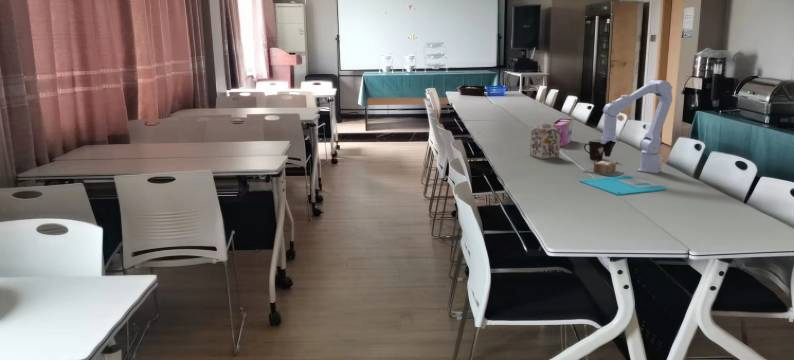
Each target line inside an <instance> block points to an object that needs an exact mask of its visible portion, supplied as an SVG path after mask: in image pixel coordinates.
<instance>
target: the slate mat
mask: <svg viewBox="0 0 794 360" xmlns="http://www.w3.org/2000/svg"><path fill="white" fill-rule="evenodd" d="M593 171H594V167H590V168H587V169H584V170H583V171H582V172H583V173H589V174H593V175H594V174H595V175H601V176H602V175H603V176H606V177H607V176H609V177H617V176H622V174H623V175H624V171H617V170H615V171H613V172H611V173H609V174H605V173H598V172H593Z"/></svg>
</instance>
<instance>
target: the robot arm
mask: <svg viewBox="0 0 794 360" xmlns="http://www.w3.org/2000/svg"><path fill="white" fill-rule="evenodd" d="M672 90H673V86H672V85H671V83H670V82H669V81H667V80H660V79H658V78H657V79H652V80H650V81H648V82H647V83H646V84H645V85H643V86H642V87H639V88H638V89H637V90H635V91H633V92H632V93H630V94H621V95H620V97H619V98H617V99H615V100H612V101H611V102H610V103H607V104H605V105H604V107H603V108H602V112H603V114H604V118H603V131H602V136H600V137H599V138H600V139H601V144H602V146H603V149H604V153H603V156H604V157H605V158H606V157H608V158H609V157H611V154H612V151H613V149H614V147H615V146H616V145H615V144H616V141H617V138H618V136H617V135H616V131H617V123H618V122H617V121H618V120H617V118H618V116H619V115H620V112H623V111H624V110H625V109H627V108H629V107H631V106H632V105H633V103H634V102H635V101H636V100H639V99H640V98H642V97H644V96H646V95H648V94H654V95H655V96H656V98H657V99H658V103H657V107H656V109H655V112H654V114H653V118H652V120H651V123H650V126H649V130H648V132H646V133H645V134H644V136H643V138H642V139H641V140H640V142H639V147H640V149H641V153H640V162H639V163H640V165H639V168H638V169H636V172H637V171H638V172H645V173H650V174H658V173H660V172H662V165H663V164H662V163H663V155H662V154H661V153H659V151H660V150H661V142H662V137H661V133H662V129H663V127H664V124H665V122H666V119H667V116H668V113H669V111H670V108H671V104H672V103H673V92H672Z"/></svg>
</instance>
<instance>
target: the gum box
mask: <svg viewBox="0 0 794 360" xmlns="http://www.w3.org/2000/svg"><path fill="white" fill-rule="evenodd" d="M573 121H574V120H573V119H572V118H559V119H557V120H556V121H554V122H553V123H552V127H555V128H557V129H558V130H559V132H560V134H561V135H560V147H565V146H567V145H568V144H569V143H570V142H571V141H572V135H573V134H572V132H573Z"/></svg>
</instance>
